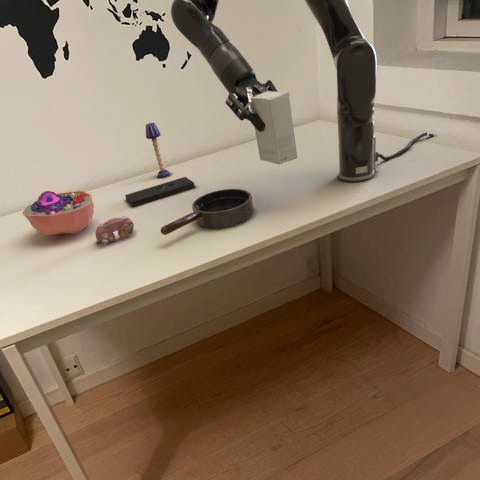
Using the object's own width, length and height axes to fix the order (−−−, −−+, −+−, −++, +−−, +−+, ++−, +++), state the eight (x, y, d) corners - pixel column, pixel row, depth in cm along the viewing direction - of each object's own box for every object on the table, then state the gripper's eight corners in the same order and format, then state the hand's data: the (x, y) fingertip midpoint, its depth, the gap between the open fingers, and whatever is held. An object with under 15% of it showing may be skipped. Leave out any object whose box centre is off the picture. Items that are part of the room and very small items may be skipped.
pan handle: (198, 216, 118) (197, 208, 117) (203, 217, 117) (202, 210, 116) (160, 235, 113) (157, 227, 111) (164, 237, 111) (162, 229, 110)
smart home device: (194, 182, 144) (131, 201, 138) (195, 187, 145) (132, 207, 139) (185, 176, 150) (124, 194, 145) (186, 181, 151) (125, 199, 146)
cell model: (70, 250, 121) (53, 208, 115) (22, 241, 131) (4, 202, 125) (116, 221, 132) (103, 182, 126) (68, 215, 142) (54, 178, 136)
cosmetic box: (297, 158, 114) (291, 91, 106) (278, 166, 112) (270, 98, 103) (276, 152, 120) (269, 89, 112) (257, 160, 118) (248, 95, 110)
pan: (227, 201, 132) (224, 185, 129) (266, 211, 122) (263, 194, 119) (184, 222, 124) (180, 205, 122) (222, 234, 114) (218, 217, 112)
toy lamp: (154, 178, 159) (140, 126, 149) (160, 173, 162) (147, 122, 153) (166, 178, 157) (153, 125, 148) (173, 172, 160) (160, 121, 151)
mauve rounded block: (101, 251, 121) (96, 232, 115) (95, 239, 123) (89, 220, 117) (138, 238, 124) (135, 219, 118) (131, 226, 126) (128, 207, 120)
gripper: (214, 63, 106) (258, 122, 105) (259, 49, 113) (301, 105, 112) (203, 88, 112) (245, 144, 111) (247, 74, 119) (287, 126, 118)
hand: (273, 124), depth 112 cm, fingers closed on cosmetic box, 6 cm apart
